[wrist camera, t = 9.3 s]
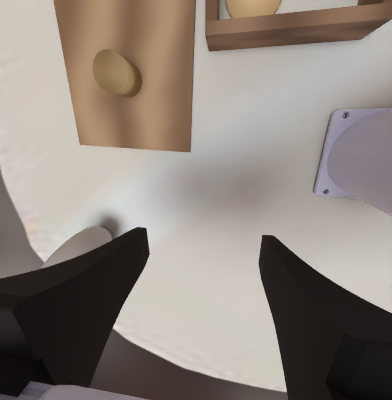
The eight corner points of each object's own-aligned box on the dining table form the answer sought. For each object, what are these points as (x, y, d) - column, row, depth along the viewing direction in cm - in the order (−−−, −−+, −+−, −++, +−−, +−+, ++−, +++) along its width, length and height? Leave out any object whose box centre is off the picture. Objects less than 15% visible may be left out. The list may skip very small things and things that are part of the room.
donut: (105, 208, 24) (31, 257, 15) (127, 223, 24) (68, 280, 15) (80, 254, 28) (8, 316, 19) (99, 266, 28) (38, 334, 19)
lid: (197, -7, 15) (188, -46, 12) (191, 151, 20) (184, 156, 17) (59, -1, 17) (16, -34, 14) (84, 144, 22) (58, 147, 19)
